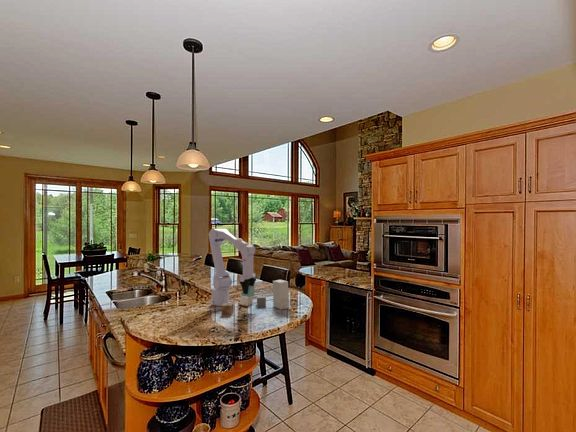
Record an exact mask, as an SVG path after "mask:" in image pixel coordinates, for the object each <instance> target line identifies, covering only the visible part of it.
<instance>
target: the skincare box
mask: <svg viewBox="0 0 576 432" xmlns="http://www.w3.org/2000/svg"><path fill="white" fill-rule="evenodd" d="M289 291H290V290H289V281H287V280H283V279H277V280H272V294H273V295H272V298H273V299H272V300H273V302H272V303H273V307H274V308H276V309H278V310H284V309H285V310H286V309H290V298H289V297H290V296H289V295H290V294H289V293H290V292H289Z"/></svg>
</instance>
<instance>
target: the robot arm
mask: <svg viewBox="0 0 576 432" xmlns="http://www.w3.org/2000/svg"><path fill="white" fill-rule="evenodd" d="M208 240H209V246H210V250H211V255H212V260H213V265H214V271H215V274H214V275H213V277H212V280H213V282H212V286H213V289H212V290H211V291H212V292H211V303H210V305H211V306H216V307H217V306H218V307H222V305H223V304H224V303H233V302H232V301H230V293H229V292H230V288H231V286H232V284H233V283H232V282H233V281H232V278H231V275H230V273H229V272H227V270H226V268H225V263H224V258H223V253H222V249H221V244H223V242H224V241H225V240H226V241H228V242H230V243H231V244H232V247H234V248H235V249H236V250H238V252H240V254H241V259H242V276H241V277H239V284H240V286H241V290H242V289H243V293H244V294H248V287H249V285H252V286H254V287H255V283H256V281H257V278H256V275H257V274H256V273H254V256H255V254H256V251H257V249H256V246H254V244H249V243H248V242H246V241H244V240H243V238H240V237H239V238H237V237H235V236H234V235H233V234H232V233H231V232H229V230H228V229H226V228H211V229H210V230H209V232H208Z"/></svg>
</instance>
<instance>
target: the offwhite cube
mask: <svg viewBox="0 0 576 432" xmlns="http://www.w3.org/2000/svg"><path fill="white" fill-rule="evenodd" d="M253 297H254V295H253V296H251V297H244V296H242V295H240V298H239V299H240V300H239V301H240V305H241V306H245V307H248V306H251V305H253V300H254V299H253Z"/></svg>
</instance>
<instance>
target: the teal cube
mask: <svg viewBox="0 0 576 432" xmlns="http://www.w3.org/2000/svg"><path fill="white" fill-rule="evenodd" d="M241 296H244V297H251V296H253V297H254V296H255V285H254V286H252V285H249V287H248V294H244V293H243V289H242V288H241Z"/></svg>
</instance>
